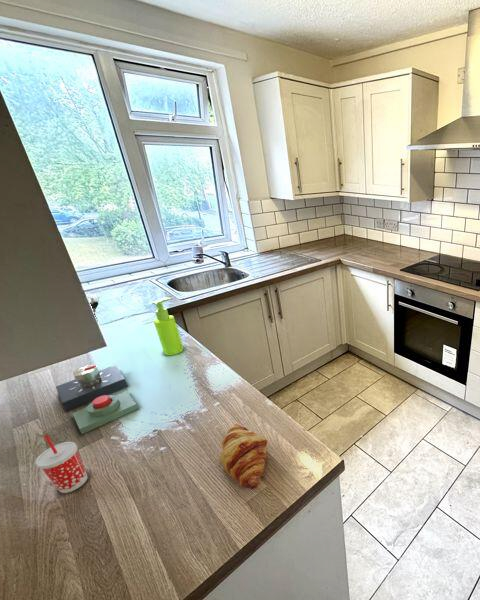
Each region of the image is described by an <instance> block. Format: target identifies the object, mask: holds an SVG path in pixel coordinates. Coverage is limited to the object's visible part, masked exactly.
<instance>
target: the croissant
mask: <svg viewBox="0 0 480 600" xmlns="http://www.w3.org/2000/svg"><path fill="white" fill-rule="evenodd" d="M226 434H227V435H226V436H225V437H224V438H223V440H222V443H221V448H222V450H221V452H220V455H219V458H218V459H219V463H220V466H221V467H222V469H223V470H224V471H225V472H226V473H227V474H228V476H230V477H231V478H232V479H233V480H234V481H235V482H237V483H238V484H239V485H240V486H241V488H245V489H249V490H255V488H256V489H257V487H258V486H260V482H261V478H262V476H263V474H264V472H265V464H266V461H267V445H268V440H267V438H266V437H264V436H262V435H258V433H256V432H254V431H251V430H249V429H248V428H246V427H245V426H242V425H241V424H239V423H235V424H234V425H232V427H231V428H230V429H229V428H228V430H227V432H226Z"/></svg>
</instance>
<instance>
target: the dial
mask: <svg viewBox="0 0 480 600" xmlns="http://www.w3.org/2000/svg"><path fill="white" fill-rule="evenodd" d="M99 371H100V370H99V368H98V366H97V365H96V364H88V365H84V366H81V367H79V368H77V369H75V370H74V371H73V372H72V376H73V378H74V380H75V379H76V381H77V383H78V385H79V387H81V388H86V387H90V386H93V385H96V384H97V383H99V382H100V381H101V380H102V377H101V375H100V373H99Z"/></svg>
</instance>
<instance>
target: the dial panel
mask: <svg viewBox="0 0 480 600" xmlns="http://www.w3.org/2000/svg"><path fill="white" fill-rule="evenodd" d="M98 371H99V373H100V375H101V377H102V380H101V381H100V382H99V383H97V384H96V385H93V386H90V387H86V388H81V387H79V385H78V383H77V381H76V379H75V378H74V379H73V380H70V381H67V382H64V383H61V384H59V385H56V386H55V389H56V391H57V393H58V396H59V399H60V401H61V403H62V405H63V407H64V409H65V411H66V412H68V411H71V410H74V409H76V408H78V407H80V406H84V405H86V404H89V403H92V401H93V400H94V399H96V398H98V397H100V396H103V395H108V396H109V395H111V394H113V393H115V392H118V391H120V390H122V389H125V388H128V387H129V386H128V383H127V380H126V378H125V376H124V375H123V374H122V373H121V371H120V370H119V368H118V367H117V366H116V364H113V365H111V366H109V367H106V368H102V369H100V370H98Z"/></svg>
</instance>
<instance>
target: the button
mask: <svg viewBox="0 0 480 600" xmlns="http://www.w3.org/2000/svg"><path fill="white" fill-rule="evenodd" d="M91 403H92V404H93V406H94V408H95V409H99V408H103V407H105V406H107V405H109V404H110V403H111V399H110V397H109V394H108V395H103V396H100V397H98V398H96V399H94V400H93V401H91Z"/></svg>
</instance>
